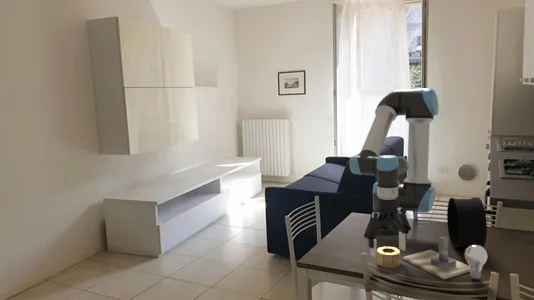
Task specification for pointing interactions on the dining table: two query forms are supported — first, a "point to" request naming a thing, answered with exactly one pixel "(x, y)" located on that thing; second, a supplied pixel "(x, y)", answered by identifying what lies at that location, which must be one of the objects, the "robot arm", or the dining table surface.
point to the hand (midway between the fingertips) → (388, 252)
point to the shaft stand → (438, 261)
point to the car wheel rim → (466, 222)
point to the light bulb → (475, 259)
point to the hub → (388, 257)
